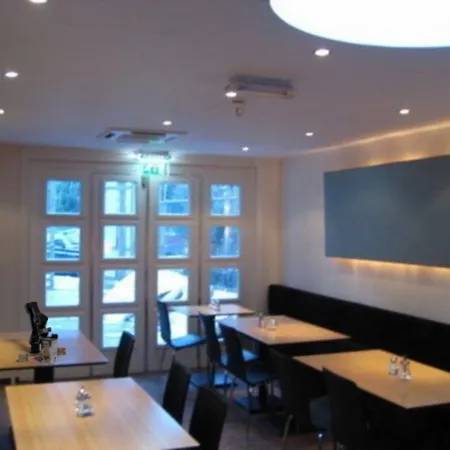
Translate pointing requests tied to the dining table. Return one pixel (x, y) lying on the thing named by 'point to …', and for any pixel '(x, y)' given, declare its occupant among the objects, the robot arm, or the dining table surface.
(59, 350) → the walnut cube
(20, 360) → the walnut cube
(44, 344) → the coffee box
